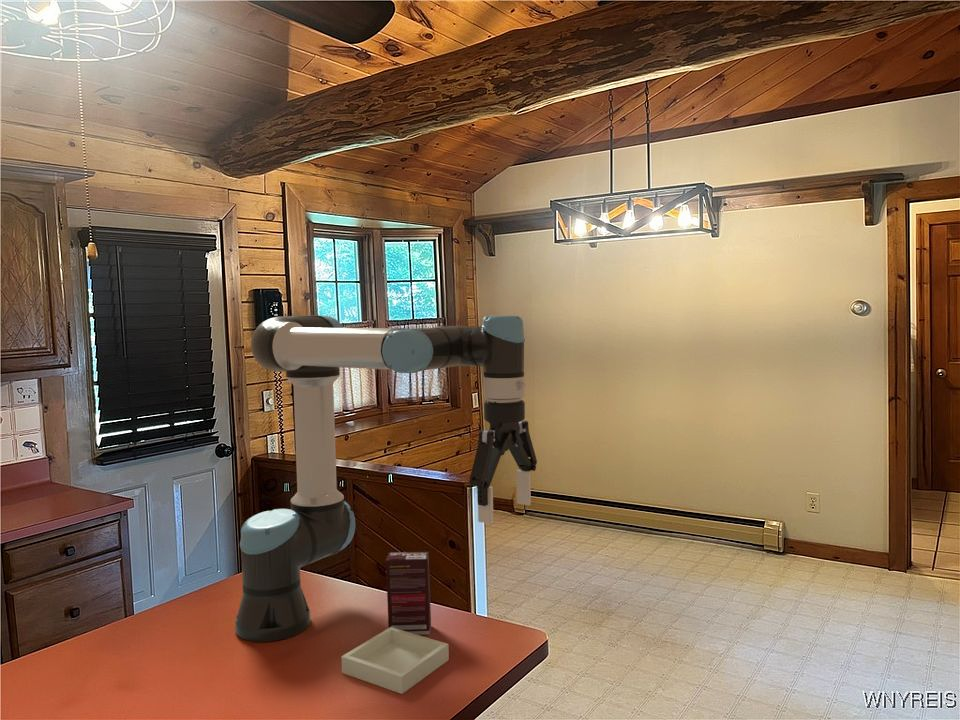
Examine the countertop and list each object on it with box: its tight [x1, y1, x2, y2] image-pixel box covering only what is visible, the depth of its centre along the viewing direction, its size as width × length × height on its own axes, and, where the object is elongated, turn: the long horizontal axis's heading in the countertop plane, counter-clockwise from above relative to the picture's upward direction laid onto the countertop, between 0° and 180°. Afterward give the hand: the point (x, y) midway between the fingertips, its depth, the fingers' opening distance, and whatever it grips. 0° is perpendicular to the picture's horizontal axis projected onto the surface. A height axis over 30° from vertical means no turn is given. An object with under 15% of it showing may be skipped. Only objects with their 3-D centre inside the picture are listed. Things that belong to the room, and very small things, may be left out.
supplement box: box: [385, 551, 432, 636], centre depth 148 cm, size 9×5×16 cm, turn 91°
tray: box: [340, 627, 450, 695], centre depth 134 cm, size 14×14×3 cm
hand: (505, 513), depth 135 cm, fingers open, 13 cm apart
